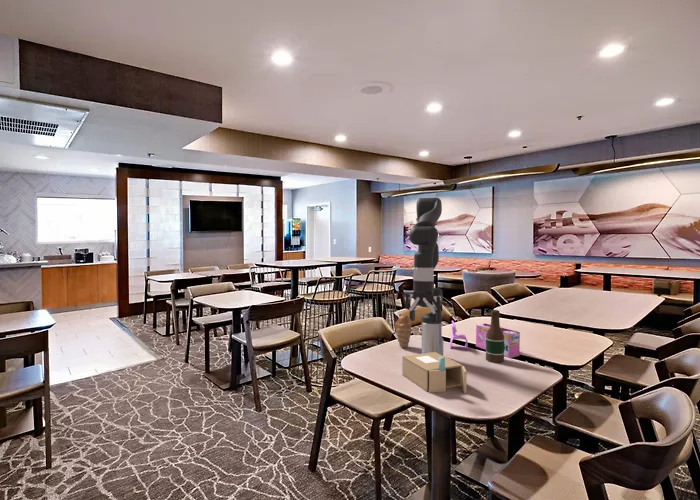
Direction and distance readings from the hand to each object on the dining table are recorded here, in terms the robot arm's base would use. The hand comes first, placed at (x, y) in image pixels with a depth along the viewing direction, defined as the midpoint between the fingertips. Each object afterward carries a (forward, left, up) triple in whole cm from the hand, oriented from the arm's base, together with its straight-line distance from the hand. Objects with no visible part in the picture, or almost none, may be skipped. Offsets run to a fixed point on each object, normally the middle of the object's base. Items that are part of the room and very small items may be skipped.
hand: (423, 322), depth 140 cm
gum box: (-58, -24, -26) cm, 68 cm away
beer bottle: (-47, -14, -25) cm, 55 cm away
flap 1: (0, +4, -25) cm, 26 cm away
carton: (-7, -6, -25) cm, 27 cm away
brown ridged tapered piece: (-19, -48, -25) cm, 57 cm away
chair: (-44, -36, -25) cm, 62 cm away
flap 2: (-15, +4, -25) cm, 30 cm away
